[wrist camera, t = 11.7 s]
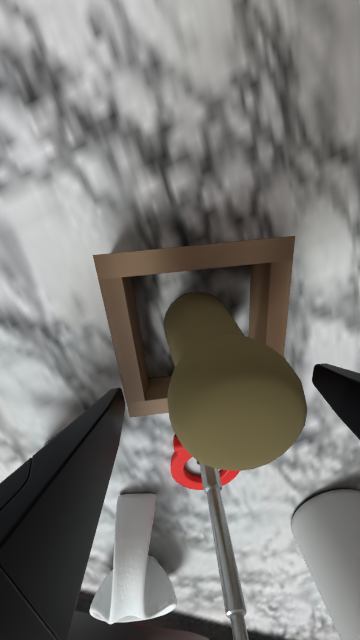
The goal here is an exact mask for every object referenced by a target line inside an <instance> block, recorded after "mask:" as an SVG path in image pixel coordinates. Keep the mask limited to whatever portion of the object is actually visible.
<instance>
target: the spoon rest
mask: <svg viewBox="0 0 360 640" xmlns="http://www.w3.org/2000/svg"><path fill="white" fill-rule="evenodd" d="M155 504H156V495H155V494H153V493H143V494H124V495H120V496H119V497H118V500H117V508H116V517H115V533H114V560H113V570H112V571H111V572H110V573H109V574H108V575H107V576H106V578H105V579H104V581H103V582H102V584H101V585H100V587H99V589H98V591H97V593H96V595H95V597H94V599H93V601H92V604H91V607H90V614H91V615H92V616H93V617H95V618H97V619H100V620H102V621H106V622H107V623H109V624H113V623H114V622H130V621H139V620H146V619H151V618H154V617H158V616H162V615H164V614H167V613H169V612H170V611H172V610H173V609H174V608H175V607H176V604H177V600H176V595H175V592H174V588H173V585H172V583H171V581H170V579H169V577H168V575H167V574H166V572H165V571H164V569H163V568H162V567H161V566H160V565H159V563H158V561H157V559H156V558H154V557H152V556H150V555H148V551H149V544H150V538H151V532H152V525H153V519H154V512H155Z"/></svg>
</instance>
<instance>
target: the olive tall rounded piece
mask: <svg viewBox="0 0 360 640" xmlns="http://www.w3.org/2000/svg"><path fill="white" fill-rule="evenodd" d="M164 331H165V335H166V339H167V342H168V345H169V349H170V352H171V355H172V358H173V362H174V365H175V369H174V371H173V374H172V377H171V381H170V385H169V389H168V401H167V402H168V410H169V417H170V421H171V425H172V428H173V431H174V432H175V434H176V436H177V437H178V439H179V441H180V443H181V444H182V446H183V447H184V448H185V449H186V450H187V452H188V453H189V454H190V455H191V456H193V457H194V458H195V459H196V460H198V461H199V462H200V463H202V464H205V465H207V466H210V467H213V468H215V469H222V470H232V471H241V470H248V469H254V468H257V467H260V466H263V465H265V464H268V463H270V462H272V461H273V460H275V459H276V458H278V457H280V456H281V455H283V454H284V453H285V452H286V451H287V450H288V449H289V448H290V447H291V446H292V445H293V444H294V442H295V441H296V440H297V439H298V437H299V435H300V433H301V431H302V429H303V428H304V426H305V421H306V415H307V405H306V400H305V395H304V391H303V387H302V383H301V380H300V379H299V377H298V376H297V374H296V373H295V371H294V370H293V369H292V367H291V366H290V365H289V363H288V362H287V361H286V360H285V358H284V357H283V356H282V355H281V354H279V353H278V352H277V351H275V350H274V349H272V348H271V347H269V346H267V345H266V344H264V343H262V342H261V341H259V340H256V339H253V338H250V337H245V336H244V334H243V333H242V331H241V330H240V328H239V327H238V325H237V324H236V322H235V321H234V319H233V318H232V316H231V315H230V313H229V312H228V310H227V309H226V307H225V306H224V305H223V303H222V302H221V301H220V300H219V299H218V298H216V297H214V296H213V295H211V294H207V293H203V292H194V293H188V294H186V295H183V296H181V297H179V298H178V299H177V300H176V301H174V302H173V303H172V304H171V305H170V307H169V309H168V311H167V312H166V315H165V319H164Z"/></svg>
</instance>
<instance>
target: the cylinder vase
mask: <svg viewBox="0 0 360 640" xmlns="http://www.w3.org/2000/svg"><path fill="white" fill-rule="evenodd" d="M291 530H292V534H293V537H294V539H295V541H296V543H297V545H298V547H299V550H300V552H301V554H302V556H303V558H304V561H305V563H306V565H307V567H308V569H309V571H310V574H311V576H312V578H313V580H314V582H315V585H316V587H317V589H318V591H319V593H320V595H321V598H322V600H323V602H324V604H325V606H326V608H327V611H328V613H329V615H330V617H331V619H332V622H333V624H334V626H335V628H336V630H337V632H338V635H339V637H340V639H341V640H360V491H357V490H352V489H337V490H331V491H327V492H324V493H321V494H319V495H317V496H315V497H313V498H311V499H309V500H308V501H306V502H305V503H304V504H303V505H301V506H300V507H299V509H298V510H297V511H296V512H295V514H294V516H293V518H292V522H291Z"/></svg>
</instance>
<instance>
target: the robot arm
mask: <svg viewBox="0 0 360 640" xmlns="http://www.w3.org/2000/svg"><path fill="white" fill-rule="evenodd" d="M312 382H313V384H314V386H315V387H316V388H317V390H318V391H319V392H320V393H321V395H322V396H323V397H324V399H325V400H326V401H327V402H328V404H329V405H330V406H331V408H332V409H333V410H334V411H335V413H336V414H337V415H338V416H339V417H340V419H341V420H342V421H343V422H344V423H345V424H346V425H347V426H348V427H349V429H350V430H351V431H352V432H353V433H354V434H355V435H356V436H357V437H358V438H359V440H360V373H357V372H353V371H350V370H346V369H343V368H339V367H336V366H332V365H329V364H317V365H315V366H314V370H313V377H312ZM124 411H125V401H124V396H123V392H122V389H121V388H114V389H111V390H110V391H108V392H107V393H106V394H105V395H104V396H103V397H101V398H100V399H99V400H98V401H97V402H96V403H94V404H93V405H92V406H91V407H90V408H88V409H87V410H86V411H85V412H84V413H83V414H81V415H80V416H79V417H78V418H77V419H76V420H74V421H73V422H72V423H71V424H70V425H69V426H67V427H66V428H65V429H64V430H63V431H62V432H60V433H59V434H58V435H57V436H56V437H55V438H53V439H52V440H51V441H50V442H49V443H47V444H46V445H45V446H44V447H43V448H42V449H40V450H39V451H38V452H37V453H36V454H35V455H33V457H32V458H30V459H29V460H27V461H26V462H25V463H24V464H23V465H22V466H20V467H19V468H18V469H17V470H16V471H14V472H13V473H12V474H11V475H10V476H8V477H7V478H6V479H5V480H4V481H2V482H1V483H0V640H67V638H68V634H69V630H70V626H71V622H72V619H73V615H74V611H75V608H76V604H77V600H78V596H79V593H80V589H81V585H82V581H83V578H84V574H85V570H86V566H87V563H88V559H89V555H90V551H91V548H92V544H93V540H94V536H95V533H96V529H97V525H98V521H99V518H100V514H101V510H102V506H103V503H104V499H105V495H106V492H107V488H108V484H109V480H110V477H111V473H112V469H113V465H114V462H115V458H116V454H117V450H118V446H119V441H120V436H121V430H122V423H123V417H124Z"/></svg>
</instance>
